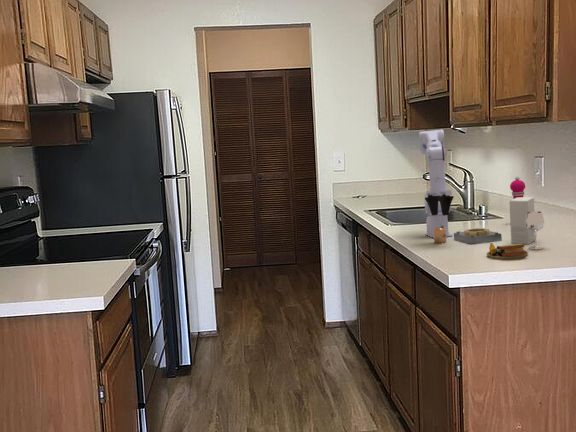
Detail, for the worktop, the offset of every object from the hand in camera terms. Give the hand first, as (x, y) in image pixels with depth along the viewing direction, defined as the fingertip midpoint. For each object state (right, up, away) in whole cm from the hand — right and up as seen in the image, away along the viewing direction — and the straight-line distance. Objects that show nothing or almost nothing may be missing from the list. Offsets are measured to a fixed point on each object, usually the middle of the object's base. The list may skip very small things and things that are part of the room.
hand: (440, 215), depth 224 cm
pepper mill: (+41, -4, +30) cm, 51 cm away
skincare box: (+27, -10, -12) cm, 31 cm away
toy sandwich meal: (+14, -14, -32) cm, 38 cm away
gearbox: (+14, -9, +3) cm, 17 cm away
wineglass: (+26, -11, -24) cm, 37 cm away
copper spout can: (+1, -11, +3) cm, 11 cm away
